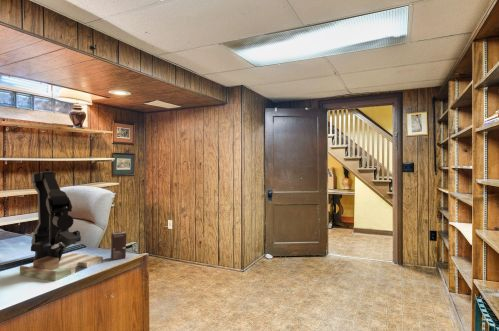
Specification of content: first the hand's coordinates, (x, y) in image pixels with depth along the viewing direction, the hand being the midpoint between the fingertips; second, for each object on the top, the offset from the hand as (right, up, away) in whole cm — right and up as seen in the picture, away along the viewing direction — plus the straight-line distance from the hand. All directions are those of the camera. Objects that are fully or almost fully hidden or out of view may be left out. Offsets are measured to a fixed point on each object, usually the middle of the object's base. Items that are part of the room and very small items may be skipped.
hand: (57, 263), depth 125 cm
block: (-2, -1, -5) cm, 5 cm away
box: (+18, -4, +17) cm, 25 cm away
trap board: (+1, -3, +3) cm, 5 cm away
